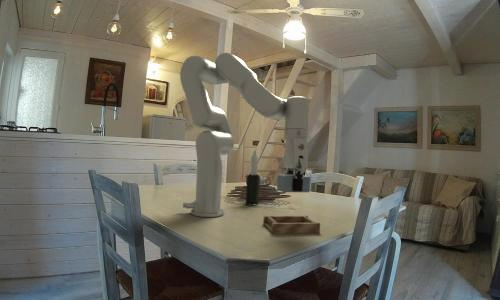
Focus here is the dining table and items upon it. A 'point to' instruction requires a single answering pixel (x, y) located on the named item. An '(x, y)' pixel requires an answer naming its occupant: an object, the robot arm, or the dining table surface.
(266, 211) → the dining table surface
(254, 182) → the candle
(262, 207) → the dining table surface
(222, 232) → the dining table surface
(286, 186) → the grey block
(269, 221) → the wooden tray
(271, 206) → the dining table surface
